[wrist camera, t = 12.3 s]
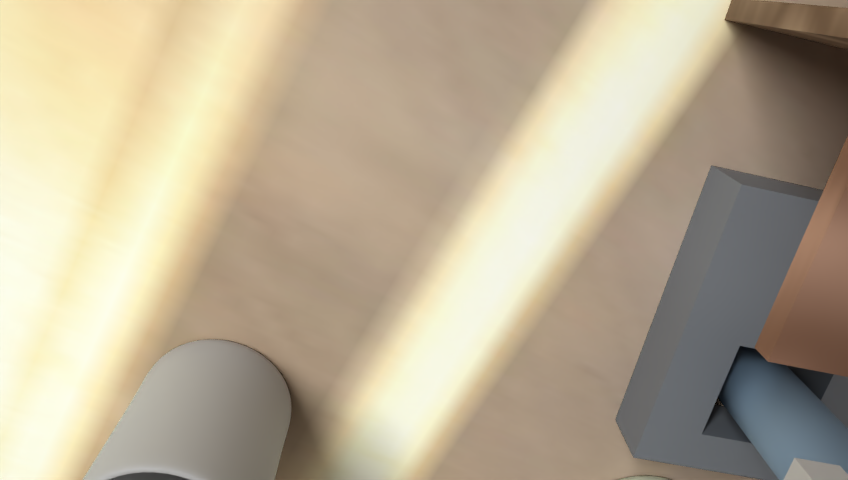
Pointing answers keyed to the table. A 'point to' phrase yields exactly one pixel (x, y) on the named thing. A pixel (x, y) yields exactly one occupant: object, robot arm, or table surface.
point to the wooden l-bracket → (810, 223)
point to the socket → (719, 325)
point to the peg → (781, 414)
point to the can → (644, 478)
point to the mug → (201, 418)
